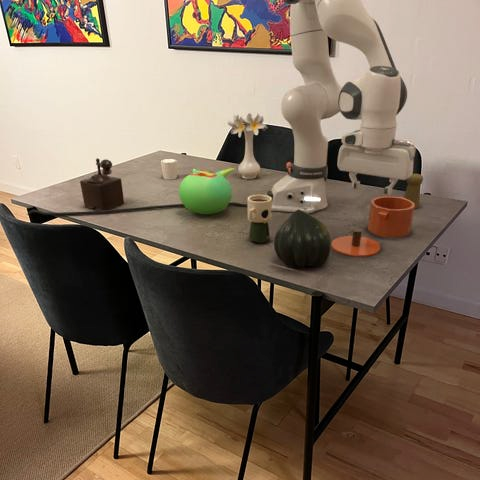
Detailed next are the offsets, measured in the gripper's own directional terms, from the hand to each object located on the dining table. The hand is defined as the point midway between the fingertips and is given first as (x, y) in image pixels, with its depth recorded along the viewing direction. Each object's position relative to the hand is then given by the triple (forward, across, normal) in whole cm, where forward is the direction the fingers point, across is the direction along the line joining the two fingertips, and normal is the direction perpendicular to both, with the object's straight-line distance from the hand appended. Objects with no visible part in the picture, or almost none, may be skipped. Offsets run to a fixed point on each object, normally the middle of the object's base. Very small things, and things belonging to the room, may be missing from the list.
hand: (371, 191), depth 131 cm
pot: (+17, 0, -16) cm, 23 cm away
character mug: (+16, +28, +14) cm, 35 cm away
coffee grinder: (+14, +89, +23) cm, 93 cm away
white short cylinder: (+15, +98, -16) cm, 100 cm away
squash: (+16, +9, +20) cm, 27 cm away
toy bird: (+15, +57, +6) cm, 59 cm away
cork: (+17, +4, -42) cm, 46 cm away
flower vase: (+15, +72, -36) cm, 82 cm away
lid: (+16, +2, +2) cm, 16 cm away
